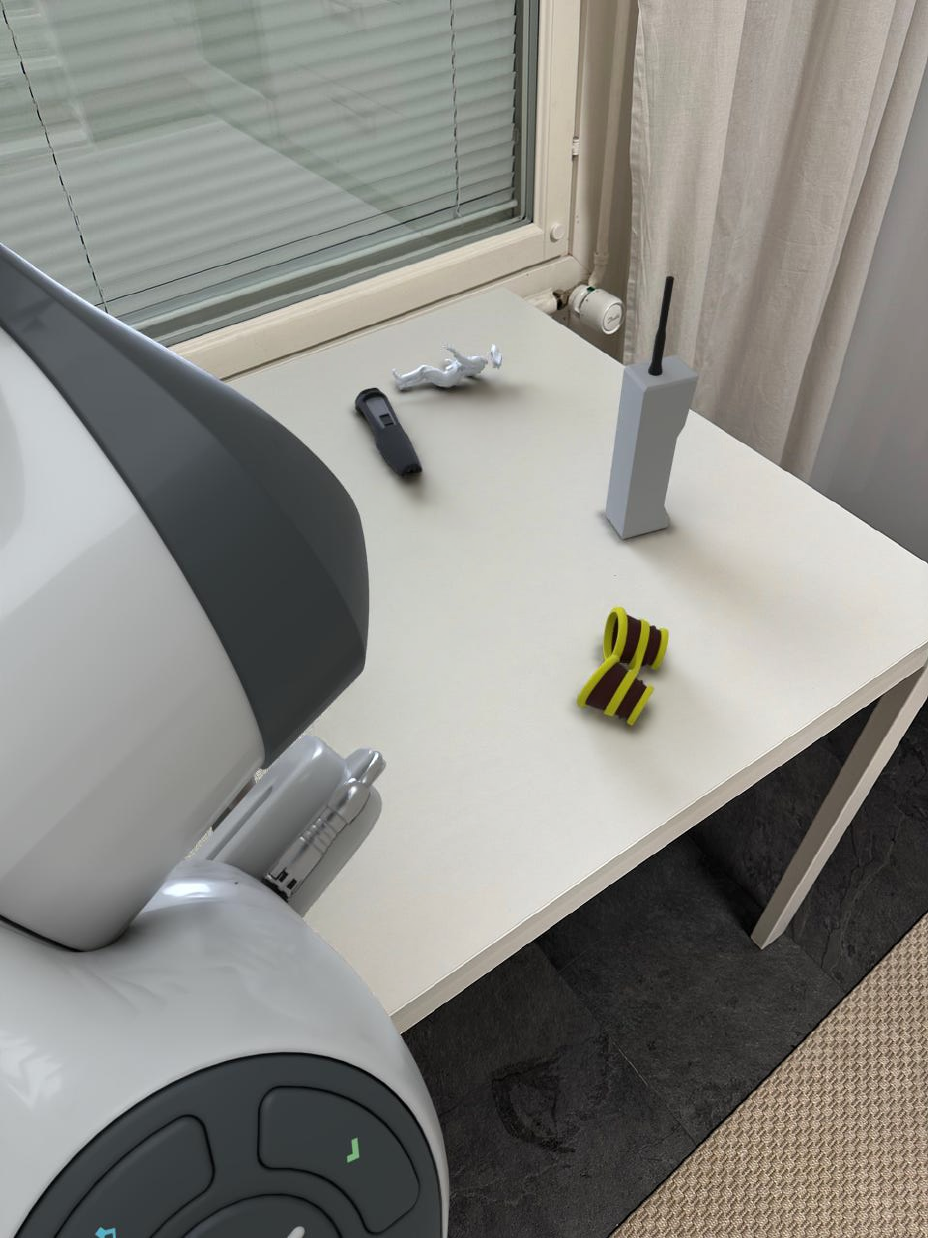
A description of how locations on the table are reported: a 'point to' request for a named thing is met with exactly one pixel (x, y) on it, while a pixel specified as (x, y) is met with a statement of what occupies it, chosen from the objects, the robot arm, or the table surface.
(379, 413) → the electric trimmer
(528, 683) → the table surface
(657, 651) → the opera glasses
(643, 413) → the vintage mobile phone
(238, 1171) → the robot arm
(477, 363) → the soldier figure
